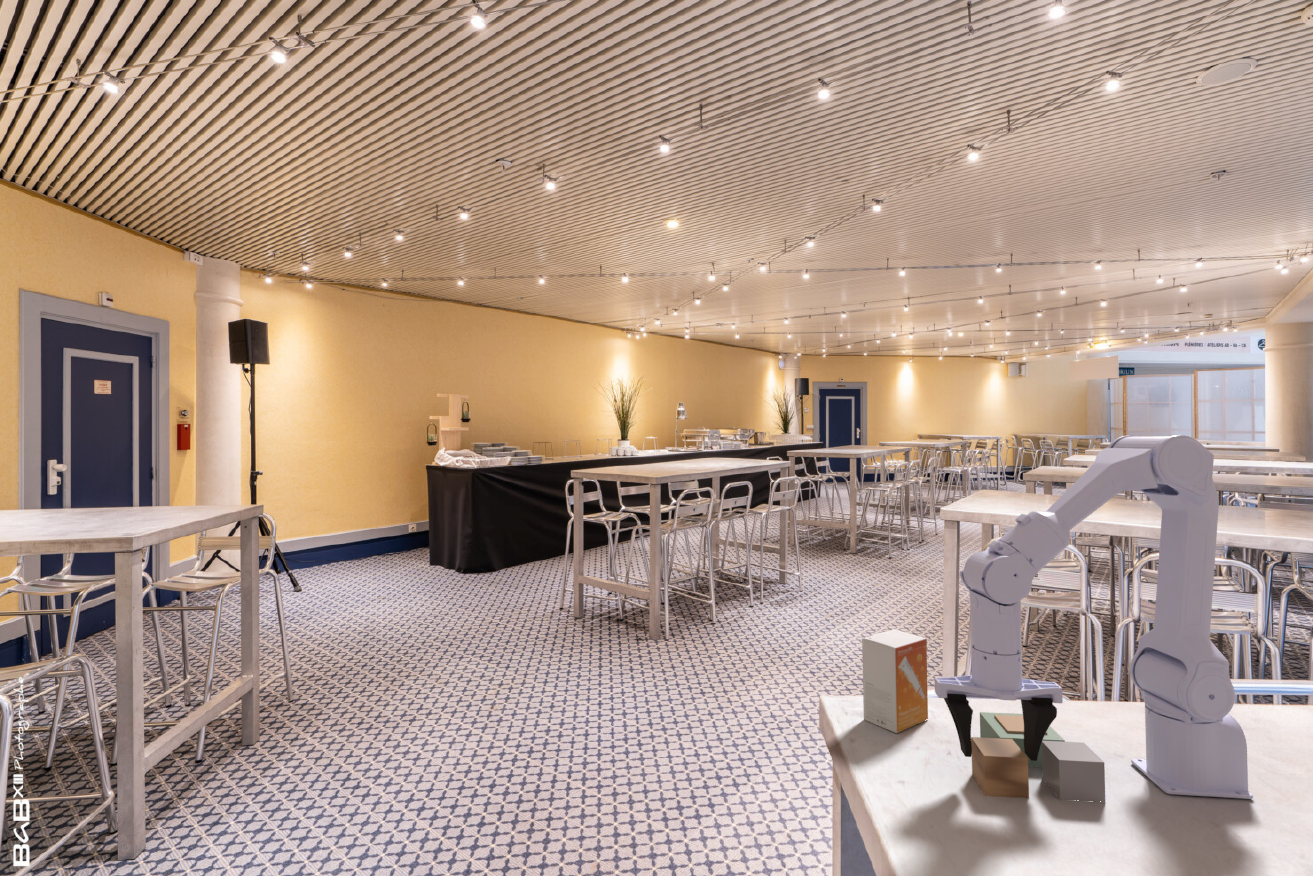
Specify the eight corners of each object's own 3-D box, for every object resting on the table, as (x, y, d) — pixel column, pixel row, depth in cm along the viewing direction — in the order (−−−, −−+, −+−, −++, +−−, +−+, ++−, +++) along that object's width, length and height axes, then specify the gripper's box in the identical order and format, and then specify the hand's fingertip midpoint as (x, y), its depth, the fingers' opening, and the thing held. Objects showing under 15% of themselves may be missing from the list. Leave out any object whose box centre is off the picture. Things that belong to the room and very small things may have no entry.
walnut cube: (1013, 777, 83) (1012, 739, 83) (1029, 799, 78) (1027, 758, 78) (972, 775, 84) (971, 737, 84) (985, 796, 79) (984, 755, 79)
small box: (897, 735, 95) (895, 647, 95) (862, 720, 101) (860, 637, 101) (929, 720, 100) (927, 637, 100) (894, 707, 105) (892, 628, 105)
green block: (1039, 742, 93) (1038, 712, 93) (1065, 770, 85) (1064, 738, 85) (980, 739, 94) (979, 710, 94) (1001, 767, 86) (1000, 735, 86)
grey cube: (1084, 781, 82) (1083, 742, 82) (1105, 804, 77) (1104, 762, 77) (1042, 779, 82) (1041, 740, 82) (1060, 801, 77) (1059, 760, 77)
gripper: (944, 656, 78) (946, 767, 78) (1073, 661, 76) (1075, 775, 76) (929, 638, 85) (931, 740, 85) (1047, 642, 83) (1049, 746, 83)
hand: (998, 755), depth 81 cm, fingers open, 7 cm apart
